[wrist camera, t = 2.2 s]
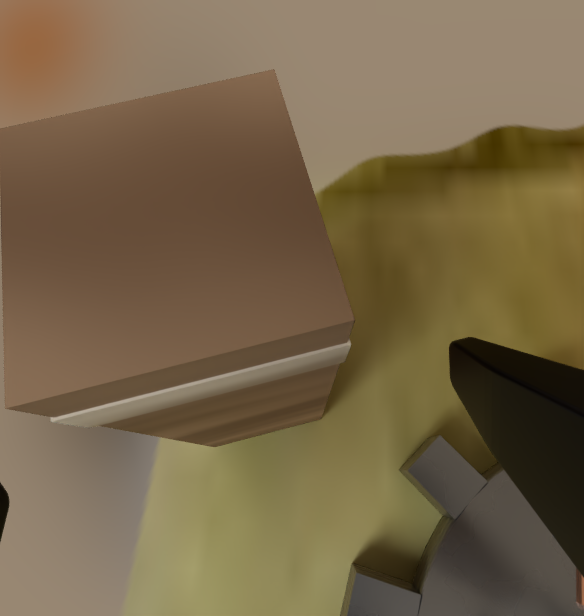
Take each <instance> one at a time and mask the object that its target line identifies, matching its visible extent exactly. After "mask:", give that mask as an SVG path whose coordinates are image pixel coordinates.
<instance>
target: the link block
mask: <svg viewBox="0 0 584 616" xmlns="http://www.w3.org/2000/svg"><path fill="white" fill-rule="evenodd" d="M0 196H1V239H2V240H1V241H2V286H3V287H2V289H3V336H4V382H5V409H10V410H15V411H21V412H26V413H32V414H38V415H43V416H48V417H51V422H55V423H61V424H67V425H73V426H79V427H85V428H92V427H96V426H102V427H108V428H113V429H119V430H124V431H130V432H135V433H141V434H146V435H151V436H157V437H162V438H168V439H173V440H179V441H184V442H190V443H195V444H200V445H206V446H211V447H217V446H221V445H225V444H228V443H232V442H236V441H240V440H243V439H247V438H251V437H255V436H258V435H262V434H266V433H270V432H273V431H277V430H281V429H285V428H289V427H292V426H296V425H300V424H304V423H307V422H311V421H315V420H319V419H321V418H322V415H323V412H324V409H325V406H326V403H327V400H328V397H329V395H330V392H331V389H332V386H333V383H334V380H335V377H336V374H337V371H338V368H339V365H340V363H344V362H345V360H346V357H347V355H348V352H349V350H350V347H351V342H350V339H349V336H350V333H351V330H352V327H353V324H354V321H355V319H354V316H353V312H352V309H351V306H350V303H349V300H348V297H347V294H346V291H345V288H344V285H343V281H342V278H341V275H340V272H339V269H338V266H337V263H336V260H335V257H334V253H333V250H332V247H331V244H330V241H329V238H328V235H327V232H326V229H325V226H324V222H323V219H322V216H321V213H320V210H319V207H318V204H317V201H316V198H315V194H314V191H313V188H312V185H311V182H310V179H309V176H308V173H307V170H306V167H305V163H304V160H303V157H302V155H301V151H300V148H299V145H298V142H297V139H296V136H295V132H294V130H293V126H292V123H291V120H290V117H289V114H288V111H287V108H286V105H285V101H284V98H283V95H282V92H281V89H280V86H279V83H278V80H277V76H276V73H275V70H274V69H273V70H268V71H265V72H259V73H255V74H250V75H246V76H241V77H236V78H231V79H227V80H222V81H218V82H213V83H208V84H204V85H199V86H195V87H190V88H185V89H181V90H176V91H172V92H167V93H162V94H158V95H153V96H148V97H144V98H139V99H135V100H130V101H126V102H121V103H116V104H111V105H107V106H103V107H98V108H93V109H89V110H84V111H79V112H75V113H70V114H65V115H61V116H56V117H51V118H47V119H42V120H38V121H34V122H28V123H24V124H19V125H15V126H10V127H5V128H1V129H0Z"/></svg>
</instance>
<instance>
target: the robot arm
mask: <svg viewBox="0 0 584 616" xmlns="http://www.w3.org/2000/svg"><path fill="white" fill-rule="evenodd" d="M449 363H450V379H451V382H452V385H453V388H454V389H455V391H456V393H457V395H458V396H459V398H460V400H461V401H462V403H463V405H464V407H465V408H466V410H467V412H468V414H469V415H470V417H471V419H472V420H473V422H474V424H475V426H476V427H477V429H478V431H479V432H480V434H481V436H482V438H483V439H484V441H485V443H486V444H487V446H488V448H489V449H490V451H491V452H492V454H493V455H494V457H495V458H496V460H497V461H498V462H499V464H500V465H501V466H502V468H503V469H504V471H505V472H506V473H507V475H508V476H509V477H510V479H511V480H512V481H513V483H514V484H515V485H516V487H517V488H518V489H519V491H520V492H521V494H522V495H523V496H524V498H525V499H526V500H527V502H528V503H529V504H530V506H531V507H532V508H533V510H534V511H535V512H536V514H537V515H538V517H539V518H540V519H541V521H542V522H543V523H544V525H545V526H546V527H547V529H548V530H549V531H550V533H551V534H552V535H553V537H554V538H555V540H556V541H557V542H558V544H559V545H560V546H561V548H562V549H563V550H564V552H565V553H566V554H567V556H568V557H569V558H570V560H571V561H572V563H573V564H574V565H575V567H576V568H577V569H578V571H579V572H580V573H581V575H582V576H583V577H584V370H581V369H578V368H575V367H571V366H568V365H564V364H561V363H558V362H554V361H551V360H548V359H544V358H541V357H537V356H534V355H531V354H527V353H524V352H521V351H517V350H514V349H510V348H507V347H504V346H500V345H497V344H494V343H490V342H487V341H483V340H480V339H477V338H473V337H467V338H463V339H459V340H456V341H452V342H451V344H450V346H449ZM8 508H9V496H8V493H7V491H6V490H5V489H4V487H3V486H2V485H1V483H0V541H1V537H2V533H3V529H4V525H5V521H6V517H7V513H8Z"/></svg>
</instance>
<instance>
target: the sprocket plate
mask: <svg viewBox="0 0 584 616" xmlns="http://www.w3.org/2000/svg"><path fill="white" fill-rule="evenodd" d="M399 470H400V472H401V473H402V474H403V475H404V476H405V477H406V478H407V479H408V480H409V481H410V482H411V483H412V484H413V485H414V486H415V487H416V488H417V489H418V490H419V491H420V492H421V493H422V494H423V495H424V496H425V497H426V498H427V499H428V501H429V502H430V503H431V504H432V505H433V506H434V507H435V508H436V509H437V510H438V511H439V512H440V513H441V514H442V515H444V516H443V517H442V519H441V520H440V522H439V523H438V525H437V527H436V529H435V531H434V533H433V534H432V536H431V538H430V540H429V542H428V544H427V545H426V547H425V550H424V552H423V555H422V558H421V560H420V563H419V566H418V568H417V571H416V573H415V576H414V579H413V583H412V584H411V583H409V582H406V581H403V580H400V579H397V578H394V577H391V576H388V575H385V574H383V573H380V572H377V571H374V570H371V569H368V568H365V567H362V566H359V565H356V564H353V563H352V565H351V569H350V574H349V578H348V583H347V587H346V592H345V596H344V601H343V605H342V610H341V614H340V616H584V577H583V576H582V575H581V573H580V572H579V571H578V569H577V568H576V567H575V565H574V564H573V563H572V561H571V560H570V558H569V557H568V556H567V554H566V553H565V552H564V550H563V549H562V548H561V546H560V545H559V544H558V542H557V541H556V540H555V538H554V537H553V535H552V534H551V533H550V531H549V530H548V529H547V527H546V526H545V525H544V523H543V522H542V521H541V519H540V518H539V517H538V515H537V514H536V512H535V511H534V510H533V508H532V507H531V506H530V504H529V503H528V502H527V500H526V499H525V498H524V496H523V495H522V494H521V492H520V491H519V489H518V488H517V487H516V485H515V484H514V483H513V481H512V480H511V479H510V477H509V476H508V475H507V473H506V472H505V471H504V469H503V468H502V466H501V465H500V464H499V462H498V463H497V464H495V465H494V466H492V467H491V468H490V469H488V470H487V471H486V472H484V473H483V474H481V475H480V474H479V473H478V472H477V471H476V470H475V469H474V468H473V467H472V466H471V465H470V464H469V463H468V462H467V461H466V460H465V459H464V458H463V457H462V456H461V455H460V454H459V453H458V452H457V451H456V450H455V449H454V448H453V447H452V446H451V445H450V444H449V443H448V442H447V441H446V440H445V439H443V438H442V437H441V436H440V435H438V436H433V437H429V438H428V439H427V440H426V441H425V442H424V443H423V444H422V446H421V447H420V448H419V449H418V450H417V451H416V452H415V453H414V454H413V455H412V456H411V457H410V459H409V460H408V461H407V462H406V463H405V464H404V465H403V466H402V467H401V468H400V469H399Z"/></svg>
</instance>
